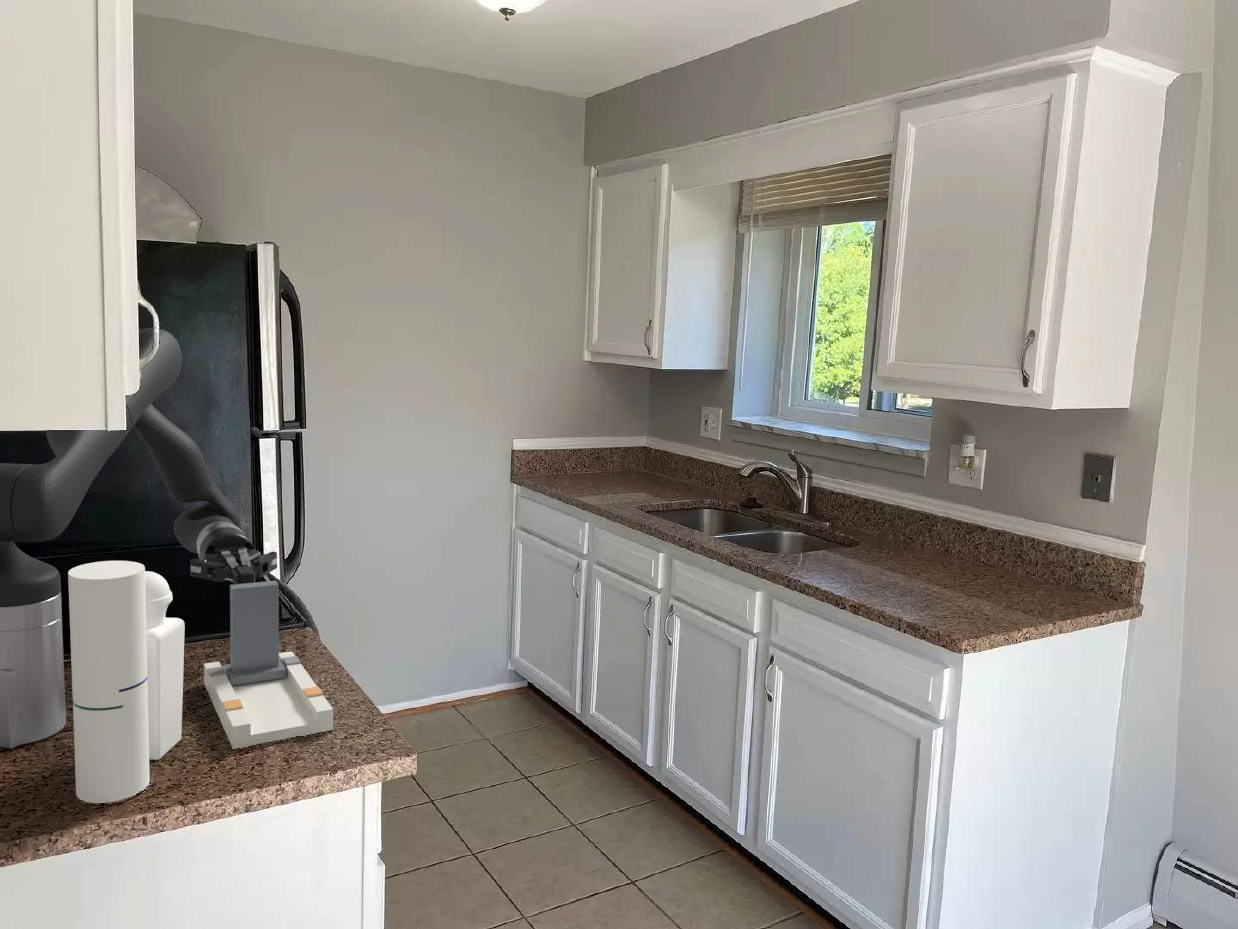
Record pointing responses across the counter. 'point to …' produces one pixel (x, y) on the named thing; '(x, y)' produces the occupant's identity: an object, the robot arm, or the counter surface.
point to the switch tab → (254, 633)
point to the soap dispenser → (163, 667)
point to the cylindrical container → (109, 679)
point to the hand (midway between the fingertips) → (246, 580)
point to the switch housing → (268, 705)
